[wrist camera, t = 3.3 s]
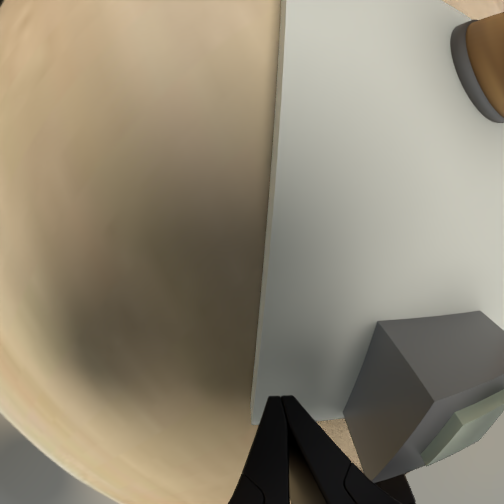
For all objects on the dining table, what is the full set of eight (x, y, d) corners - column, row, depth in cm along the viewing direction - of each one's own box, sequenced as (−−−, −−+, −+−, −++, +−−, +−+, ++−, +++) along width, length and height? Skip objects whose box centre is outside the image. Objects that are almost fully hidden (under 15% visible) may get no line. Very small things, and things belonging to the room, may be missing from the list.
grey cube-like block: (440, 390, 11) (479, 449, 7) (342, 412, 10) (371, 496, 6) (480, 310, 9) (541, 366, 5) (377, 320, 9) (444, 417, 4)
